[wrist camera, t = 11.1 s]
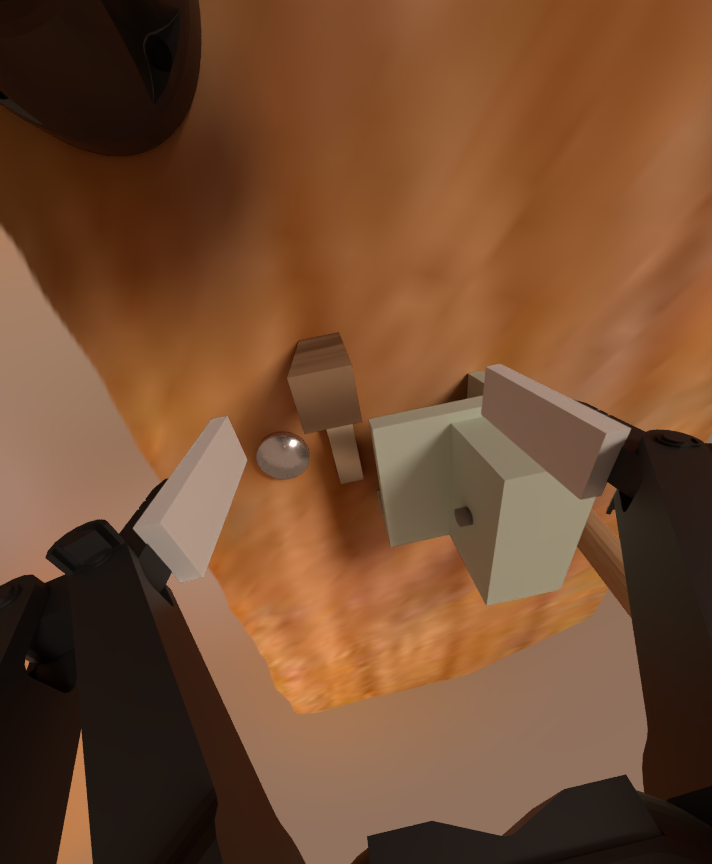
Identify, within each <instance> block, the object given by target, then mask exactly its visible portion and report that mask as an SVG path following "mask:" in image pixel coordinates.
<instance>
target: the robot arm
mask: <svg viewBox="0 0 712 864" xmlns="http://www.w3.org/2000/svg"><path fill="white" fill-rule="evenodd" d="M200 58H201V21H200V10H199V1H198V0H0V104H1V105H2V106H4V107H5V108H7V109H8V110H9V111H11V112H12V113H14V114H15V115H17V116H19V117H20V118H22V119H23V120H25V121H27V122H29V123H31V124H32V125H34V126H36V127H38V128H40V129H41V130H43V131H45V132H47V133H49V134H50V135H52V136H54V137H56V138H58V139H60V140H62V141H64V142H66V143H68V144H70V145H73V146H75V147H77V148H80V149H83V150H86V151H89V152H93V153H98V154H103V155H112V156H126V155H134V154H138V153H142V152H144V151H147V150H150V149H152V148H154V147H156V146H157V145H159V144H160V143H162V142H163V141H164V140H166V139H167V138H168V137H169V136H170V135H171V134H172V133H173V132H174V131H175V129H176V128H177V127H178V126H179V124H180V123H181V121H182V120H183V118H184V116H185V114H186V112H187V110H188V108H189V106H190V103H191V101H192V98H193V95H194V92H195V88H196V84H197V80H198V74H199V67H200ZM481 415H482V416H483V417H484V418H486V419H487V420H488V421H489V422H490V423H491V424H493V425H494V426H495V427H496V428H497V429H498V430H500V431H501V432H502V433H503V434H504V435H505V436H506V437H508V438H509V439H510V440H511V441H512V442H513V443H515V444H516V445H517V446H518V447H519V448H520V449H522V450H523V451H524V452H525V453H526V454H527V455H529V456H530V457H531V458H532V459H533V460H534V461H536V462H537V463H538V464H539V465H540V466H541V467H542V468H544V469H545V470H546V471H547V472H548V473H549V474H551V475H552V476H553V477H554V478H555V479H556V480H558V481H559V482H560V483H561V484H562V485H563V486H565V487H566V488H567V489H568V490H569V491H570V492H571V493H573V494H574V495H575V496H576V497H577V498H578V499H580V500H583V499H588V498H592V497H597V496H601V495H602V493H603V491H604V488H605V486H606V484H607V482H608V483H610V484H611V485H613V486H614V487H615V488H617V490H616V492H615V494H614V496H613V498H612V500H611V502H610V504H609V506H608V508H607V511H606V514H611V512H612V510H614V509H615V511H616V518H617V524H618V531H619V538H620V544H621V551H622V558H623V564H624V571H625V578H626V584H627V591H628V597H629V604H630V611H631V617H632V624H633V631H634V637H635V644H636V649H637V650H636V651H637V656H638V664H639V670H640V677H641V684H642V690H643V697H644V703H645V710H646V717H647V726H648V734H647V741H646V745H645V749H644V753H643V764H642V765H643V766H642V771H643V785H644V793H643V792H640V791H636V790H635V788H634V787H633V785H632V783H631V782H630V780H629V779H628V777H627V775H622V776H618V777H613V778H609V779H605V780H601V781H597V782H593V783H588V784H584V785H581V786H576V787H572V788H568V789H564V790H562V791H560V792H559V793H557V794H556V795H554V796H553V797H551V798H550V799H548V800H546V801H544V802H543V803H542V804H540V805H538V806H536V807H535V808H533V809H532V810H531V811H529V812H528V813H527V814H526V815H525V816H524V817H523V818H521V819H520V820H519V821H518V822H517V823H516V824H515V825H513V826H512V827H511V828H510V829H509V830H508V831H507V832H506V833H504V834H503V835H502V836H499V835H495V834H489V833H485V832H481V831H476V830H471V829H467V828H462V827H458V826H453V825H449V824H444V823H439V822H435V821H429V822H425V823H421V824H417V825H413V826H408V827H404V828H400V829H396V830H392V831H387V832H383V833H379V834H375V835H371V836H367V839H368V848H367V849H366V850H365V851H363V852H362V853H361V854H360V855H359V856H357V858H356V859H355V860H354V861H353V862H352V863H351V864H712V444H711V443H709V444H707V443H704V442H703V441H701V440H699V439H697V438H695V437H693V436H690V435H687V434H684V433H681V432H676V431H670V430H650V431H647V432H645V431H643V430H641V429H638V428H636V427H634V426H632V425H630V424H628V423H626V422H624V421H622V420H620V419H618V418H616V417H614V416H612V415H608V414H607V413H605V412H603V411H601V410H598V409H597V408H595V407H593V406H591V405H589V404H587V403H584V402H580V401H576V400H573V399H571V398H569V397H567V396H565V395H563V394H561V393H559V392H557V391H555V390H552V389H550V388H548V387H546V386H544V385H542V384H540V383H538V382H536V381H534V380H532V379H530V378H528V377H526V376H524V375H522V374H520V373H518V372H516V371H514V370H512V369H510V368H508V367H506V366H504V365H502V364H497V365H492V366H487V367H486V371H485V380H484V390H483V399H482V409H481ZM246 463H247V458H246V456H245V454H244V451H243V449H242V447H241V445H240V442H239V440H238V438H237V436H236V434H235V431H234V429H233V427H232V425H231V423H230V420H229V418H228V416H224V417H219V418H213V419H211V421H210V422H209V423H208V425H207V426H206V428H205V429H204V430H203V432H202V433H201V435H200V436H199V437H198V439H197V440H196V441H195V443H194V444H193V446H192V447H191V448H190V450H189V451H188V452H187V454H186V455H185V457H184V458H183V459H182V461H181V462H180V463H179V465H178V466H177V468H176V469H175V470H174V472H173V473H172V475H171V476H170V477H169V478H168V479H165V480H163V481H162V482H161V483H160V484H159V485H157V486H156V487H155V488H154V489H153V490H152V491H151V493H150V494H149V495H148V497H147V498H146V501H144V502H143V503H142V504H141V506H140V507H139V510H137V511H136V512H135V514H134V515H133V516H132V518H131V519H130V521H129V522H128V523H127V524H126V525H125V527H124V528H123V530H122V531H121V532H120V533H119V534H118V533H117V531H116V530H115V529H114V528H113V527H112V526H111V525H110V524H109V523H108V522H107V521H106V520H95V521H91V522H87V523H85V524H83V525H81V526H79V527H76V528H75V529H73V530H72V531H70V532H68V533H67V534H65V535H64V536H63V537H62V538H60V539H59V540H58V541H56V542H55V543H54V545H53V546H52V547H51V548H50V549H49V550H48V552H47V555H46V559H47V560H49V561H50V562H51V563H52V564H54V565H55V566H56V567H57V568H59V569H60V570H61V571H62V572H64V573H65V575H63V576H61V577H58V578H56V579H53V580H51V581H49V582H46V583H44V582H42V581H41V580H39V579H38V578H37V577H35V576H34V575H24V576H21V577H18V578H15V579H13V580H11V581H9V582H7V583H5V584H3V585H1V586H0V864H56V862H57V858H58V852H59V846H60V841H61V835H62V830H63V825H64V819H65V814H66V809H67V803H68V798H69V792H70V787H71V781H72V776H73V770H74V765H75V759H76V754H77V748H78V743H79V738H80V732H81V730H82V741H83V753H84V765H85V776H86V788H87V800H88V810H89V823H90V835H91V847H92V858H93V864H305V862H304V860H303V858H302V856H301V854H300V852H299V850H298V848H297V846H296V845H295V843H294V842H293V840H292V838H291V837H290V835H289V834H288V833H287V831H286V830H285V829H284V828H283V826H282V825H281V823H280V822H279V820H278V818H277V817H276V815H275V813H274V811H273V809H272V807H271V804H270V802H269V800H268V798H267V796H266V794H265V792H264V789H263V787H262V785H261V783H260V781H259V778H258V776H257V774H256V772H255V770H254V768H253V766H252V764H251V761H250V759H249V757H248V755H247V753H246V750H245V748H244V746H243V744H242V742H241V740H240V737H239V735H238V733H237V731H236V729H235V727H234V725H233V722H232V720H231V718H230V716H229V714H228V712H227V709H226V707H225V705H224V703H223V701H222V699H221V696H220V694H219V692H218V690H217V688H216V686H215V684H214V681H213V679H212V677H211V675H210V673H209V671H208V668H207V667H206V664H205V662H204V660H203V658H202V655H201V653H200V651H199V649H198V647H197V645H196V643H195V640H194V638H193V636H192V634H191V632H190V630H189V627H188V626H187V624H186V621H185V619H184V617H183V614H182V612H181V610H180V608H179V606H178V604H177V602H176V599H175V597H174V595H173V593H172V591H171V589H170V588H169V587H168V586H167V585H166V583H167V580H168V579H169V577H170V574H171V573H172V574H173V575H174V576H175V577H176V578H177V579H178V581H179V582H180V583H182V582H186V581H192V580H196V579H201V578H204V575H205V573H206V570H207V567H208V564H209V562H210V559H211V556H212V554H213V551H214V548H215V546H216V543H217V540H218V538H219V535H220V532H221V530H222V527H223V524H224V522H225V519H226V516H227V514H228V511H229V508H230V506H231V503H232V500H233V498H234V495H235V492H236V490H237V487H238V484H239V481H240V479H241V476H242V473H243V471H244V468H245V465H246ZM25 659H26V660H28V661H29V665H28V668H27V670H26V668H25Z"/></svg>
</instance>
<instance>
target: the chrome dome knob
mask: <svg viewBox="0 0 712 864" xmlns="http://www.w3.org/2000/svg"><path fill="white" fill-rule="evenodd" d="M256 458H257V463H258V465H259V467H260V468H261V470H262V471H263V472H264V473H266V474H267V475H269V476H271V477H274V478H278V479H290V478H294V477H296V476H298V475H300V474H301V473H303V472H304V471H305V469H306V468H307V466H308V463H309V448H308V446H307V444H306V442H305V441H304V440H303V439H302V438H301V437H299V436H298V435H296V434H293V433H290V432H276V433H273V434H270V435H268V436H267V437H265V438H264V439H263V440H262V442H261V443H260V446H259V448H258V451H257V457H256Z"/></svg>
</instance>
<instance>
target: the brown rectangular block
mask: <svg viewBox="0 0 712 864" xmlns="http://www.w3.org/2000/svg"><path fill="white" fill-rule="evenodd" d="M287 380H288V383H289V386H290V389H291V393H292V396H293V399H294V402H295V405H296V409H297V412H298V415H299V418H300V421H301V425H302V428H303V431H304V434H308V433H313V432H317V431H322V430H327V433H328V437H329V441H330V445H331V448H332V452H333V456H334V460H335V464H336V467H337V471H338V475H339V479H340V483H341V484H344V483H349V482H354V481H358V480H363V479H364V478H363V473H362V468H361V463H360V459H359V454H358V449H357V444H356V439H355V434H354V429H353V424H355V423H360V422H362V418H361V412H360V407H359V401H358V396H357V390H356V385H355V379H354V374H353V368H352V364H351V361H350V359H349V356H348V354H347V351H346V349H345V347H344V344H343V342H342V339H341V337H340V334H339V332H338V333H333V334H328V335H323V336H318V337H313V338H308V339H303V340H299V342H298V345H297V349H296V352H295V355H294V358H293V361H292V364H291V367H290V370H289V373H288V376H287Z"/></svg>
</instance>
